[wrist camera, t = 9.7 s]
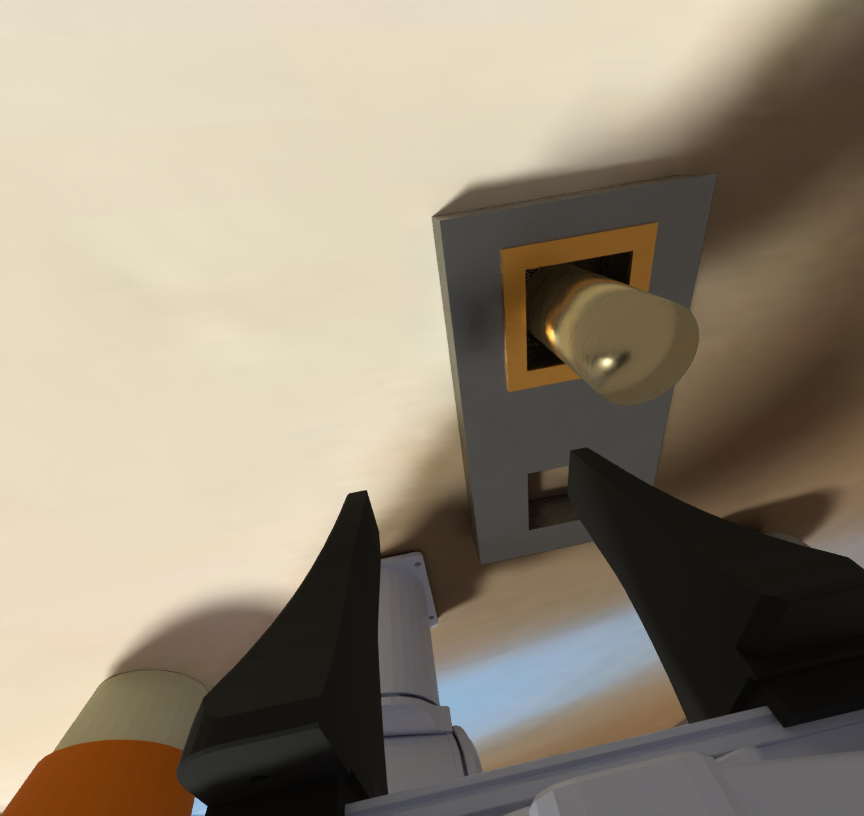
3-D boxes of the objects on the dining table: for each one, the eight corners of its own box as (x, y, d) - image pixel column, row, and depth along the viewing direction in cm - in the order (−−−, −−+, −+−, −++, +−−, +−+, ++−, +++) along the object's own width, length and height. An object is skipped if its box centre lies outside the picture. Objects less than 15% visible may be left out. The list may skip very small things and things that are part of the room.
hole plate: (624, 505, 29) (646, 532, 27) (472, 537, 29) (481, 567, 27) (676, 175, 18) (721, 172, 16) (431, 217, 18) (440, 221, 15)
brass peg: (587, 329, 22) (686, 394, 15) (519, 342, 22) (587, 414, 15) (592, 255, 20) (710, 290, 13) (516, 269, 19) (594, 312, 13)
